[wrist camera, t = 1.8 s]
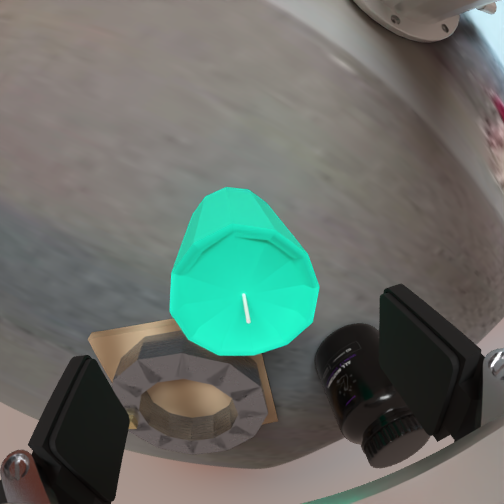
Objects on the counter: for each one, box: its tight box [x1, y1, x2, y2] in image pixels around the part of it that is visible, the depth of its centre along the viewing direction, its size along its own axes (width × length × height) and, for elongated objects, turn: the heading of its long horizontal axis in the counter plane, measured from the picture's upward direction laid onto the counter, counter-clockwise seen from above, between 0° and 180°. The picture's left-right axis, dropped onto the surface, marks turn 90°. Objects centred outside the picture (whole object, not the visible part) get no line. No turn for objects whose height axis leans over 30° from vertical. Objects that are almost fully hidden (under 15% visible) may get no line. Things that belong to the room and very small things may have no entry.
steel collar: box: [112, 330, 268, 454], centre depth 23 cm, size 13×13×4 cm
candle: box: [170, 187, 320, 356], centre depth 16 cm, size 6×6×12 cm
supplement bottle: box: [315, 323, 430, 468], centre depth 21 cm, size 7×7×12 cm
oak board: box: [88, 318, 278, 424], centre depth 25 cm, size 14×14×1 cm
